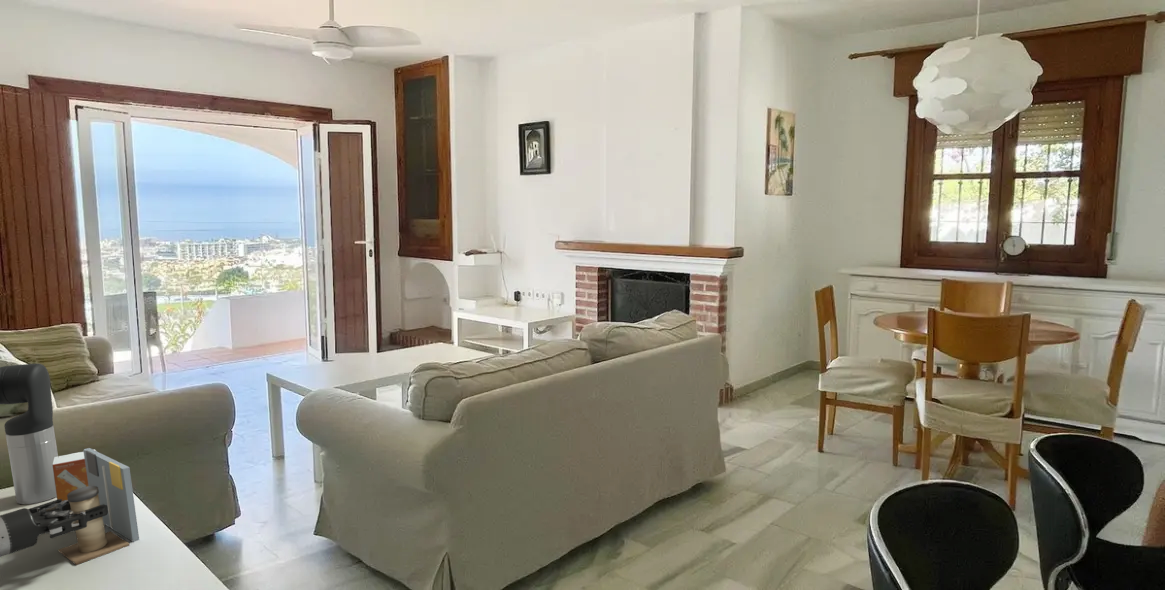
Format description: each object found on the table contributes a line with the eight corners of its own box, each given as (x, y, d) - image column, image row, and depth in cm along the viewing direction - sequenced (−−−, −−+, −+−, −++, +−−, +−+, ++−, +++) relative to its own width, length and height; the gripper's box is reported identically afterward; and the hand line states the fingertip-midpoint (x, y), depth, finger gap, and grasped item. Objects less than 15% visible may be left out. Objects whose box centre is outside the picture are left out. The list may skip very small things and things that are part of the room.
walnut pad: (58, 551, 145) (58, 549, 145) (110, 532, 152) (110, 531, 152) (76, 565, 139) (76, 563, 139) (129, 545, 146) (129, 543, 146)
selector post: (74, 548, 145) (63, 493, 143) (102, 537, 149) (92, 483, 147) (83, 555, 142) (72, 499, 140) (112, 543, 146) (102, 489, 144)
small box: (59, 519, 160) (51, 464, 159) (61, 509, 166) (53, 456, 164) (102, 509, 165) (94, 456, 163) (102, 500, 170) (95, 448, 168)
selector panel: (91, 517, 161) (81, 448, 159) (98, 514, 162) (89, 446, 160) (131, 542, 148) (121, 468, 145) (139, 539, 149) (129, 465, 147)
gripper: (9, 526, 128) (110, 494, 141) (-13, 508, 137) (83, 479, 150) (16, 565, 129) (115, 529, 142) (-7, 544, 138) (88, 513, 151)
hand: (99, 504), depth 146 cm, fingers open, 8 cm apart
